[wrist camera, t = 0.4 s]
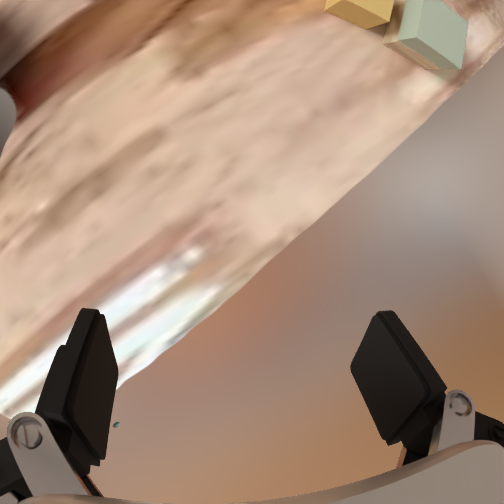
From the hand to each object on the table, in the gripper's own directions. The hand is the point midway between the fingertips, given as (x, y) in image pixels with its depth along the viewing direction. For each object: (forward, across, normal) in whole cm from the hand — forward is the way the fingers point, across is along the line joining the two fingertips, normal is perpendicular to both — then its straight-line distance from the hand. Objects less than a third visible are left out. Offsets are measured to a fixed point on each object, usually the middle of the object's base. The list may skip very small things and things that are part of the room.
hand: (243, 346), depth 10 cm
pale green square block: (+26, -24, -23) cm, 42 cm away
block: (+29, -14, -24) cm, 41 cm away
